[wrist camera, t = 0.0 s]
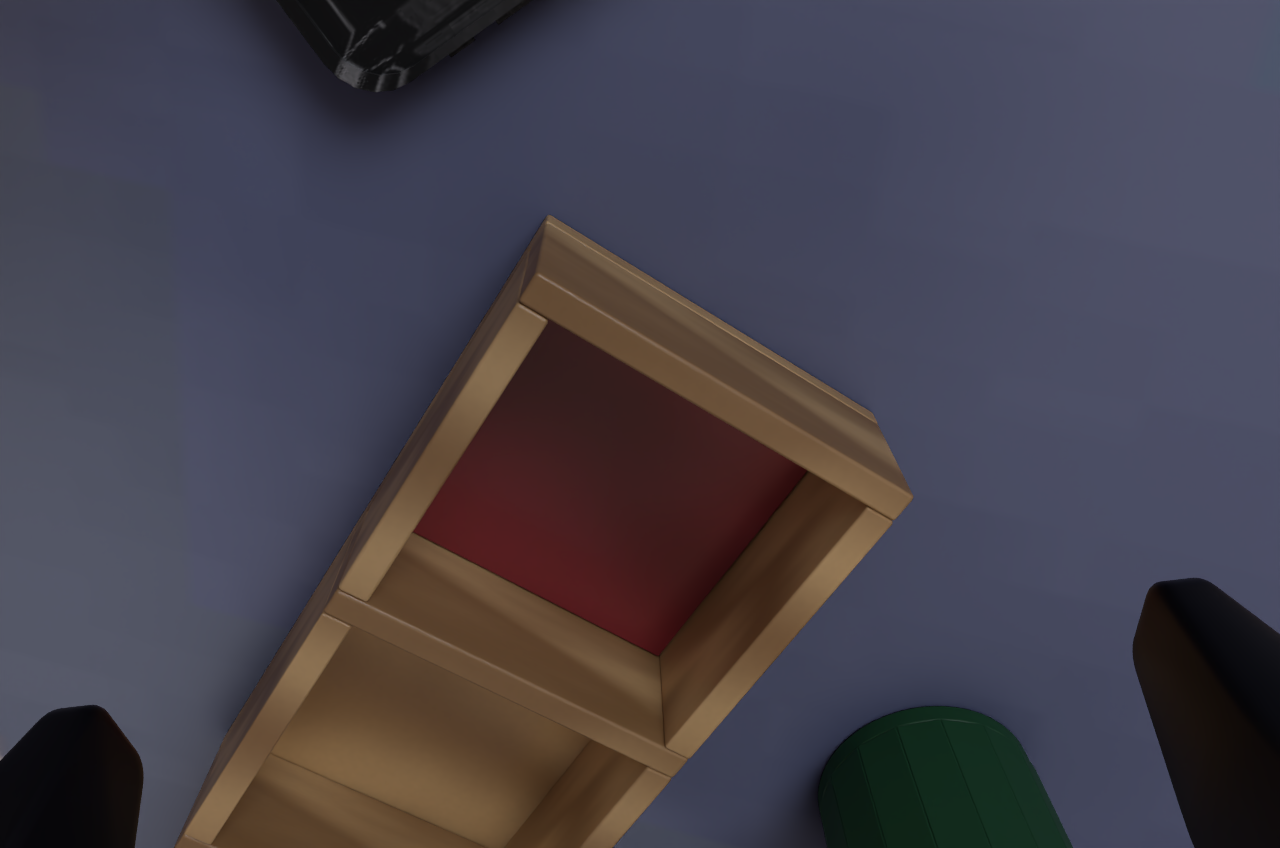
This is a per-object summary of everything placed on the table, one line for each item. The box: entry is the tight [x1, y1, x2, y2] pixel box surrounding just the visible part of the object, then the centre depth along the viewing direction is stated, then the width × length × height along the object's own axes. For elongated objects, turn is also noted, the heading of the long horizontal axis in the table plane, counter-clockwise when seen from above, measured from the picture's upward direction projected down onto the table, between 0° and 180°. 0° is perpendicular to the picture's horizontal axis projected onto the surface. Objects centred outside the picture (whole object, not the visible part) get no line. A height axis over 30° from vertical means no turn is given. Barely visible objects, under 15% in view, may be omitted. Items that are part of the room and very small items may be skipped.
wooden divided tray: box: [174, 215, 913, 848], centre depth 26 cm, size 17×9×4 cm, turn 147°
